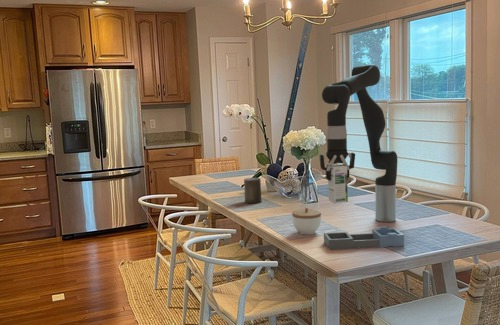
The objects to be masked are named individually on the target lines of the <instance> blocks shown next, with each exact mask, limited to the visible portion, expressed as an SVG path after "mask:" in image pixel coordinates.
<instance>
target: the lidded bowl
mask: <svg viewBox="0 0 500 325" xmlns="http://www.w3.org/2000/svg"><path fill="white" fill-rule="evenodd" d="M291 215H292V223H293V226H294V228H295V229H296V230H297V232H298V234H301V235H307V236H308V235H314V234H316V232H317V231H318V230H319V228H320V226H321V221H322V211H320V210H318V209H313V208H312V209H311V208H309V207H304V208H301V209H297V210H294V211H292V212H291Z"/></svg>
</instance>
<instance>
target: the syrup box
mask: <svg viewBox="0 0 500 325" xmlns="http://www.w3.org/2000/svg"><path fill="white" fill-rule="evenodd" d="M329 171H330V181H328V180H327V189H328V190H327V191H328V201H329V202H331V203H333V204H342V203H349V197H348V195H349V194H348V191H349V190H348V180H347V166H346V165H343V164H342V163H338V164H333V165H332V166H331V168H330V170H329Z"/></svg>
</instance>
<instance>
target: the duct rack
mask: <svg viewBox="0 0 500 325" xmlns="http://www.w3.org/2000/svg"><path fill="white" fill-rule="evenodd" d="M371 230H372V232H367V233H364V232H362V233H349V232H348V231H341V232H340V231H338V232H323V243H324V245H325V246H326V247H327V249H328V251H331V250H333V251H334V250H335V251H336V250H352V249H354V250H355V249H356V250H357V249H372V248H373V247H375V248H389V247H388V246H394V247H404V246H405V234H404V233H402V232H401V231H400V230H398V228H396V227H395V228H389V227H388V226H387V225H384V226H383V225H381V226H378V228H376V229H375V228H373V229H371Z"/></svg>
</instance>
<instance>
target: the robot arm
mask: <svg viewBox="0 0 500 325" xmlns="http://www.w3.org/2000/svg"><path fill="white" fill-rule="evenodd" d="M380 78H381V72H380V69H379V67H378V66H377V65H376V64H372V63H371V64H364V65H363V64H362V65H357V66H353V68H352V69H351V76H349V77H346V78H344V79H342V80H340V81H338V82H335V83H330V84H328V85H326V86H325V87H324V88H323V89H322V93H321V98H322V100H323V102H324V103H326V104H329V105H335V104H336V105H337V107H336V108H335V109H333V110H329V111H328V112H327V114H326V117H327V118H326V119H327V120H326V121H327V123H326V126H327V127H326V128H327V129H326V150H327V151H326V153H320V154H319V155H318V157H319V158H318V159H319V162H320V163H319V164H320V169H321V170H322V171H325V179H327V182H328V181H330V171H329V170H330V168H331V166H332V165H337V164H343V165H346V166H347V181H348V180H349V178H350V170H351V169H354V168H355V160H356V153H354V152H348V142H347V141H348V139H347V137H348V133H347V116H346V115H347V109H348V106H349V103H350V98H351V97H352V96H353V95H354V94H356V98H357V99H358V103H359V106H360V111H361V116H362V120H363V124H364V130H365V132H366V137H367V140H368V147H369V156H370V160H371V165H372V167H373V168H374V169H376V170H382V171H385V173H384V174H383V175H382V176H378V177H376V178H375V179H374V180H375V187H374V188H375V189H374V190H375V191H374V192H375V211H374V212H375V214H374V215H375V217H374V218H375V221H377V222H381V223H390V222H391V223H392V222H395V221H396V219H397V217H396V216H397V213H396V212H397V211H396V210H397V208H396V207H397V206H396V205H397V204H396V203H397V202H396V201H397V200H396V199H397V193H396V192H397V191H396V186H397V185H396V184H397V183H396V182H397V176H398V175H397V174H398V155H397V152H396V151H395V150H390V149H382V148H381V142H380V141H381V138H382V135H383V133H384V131H385V129H386V119H385V114H384V110H383V109H382V107H381V106H380V105H379V104H378V103H377V102H376V101H375V100H374V99H373V97H371V96H370V94H369V92H368V90H367V88H368V87H374V86H375V85H378V83H379V82H380ZM326 157H327V159H328V161H327V163H326V165H325V160H326ZM347 158H349V165H348V162H347V161H346V159H347Z"/></svg>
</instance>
